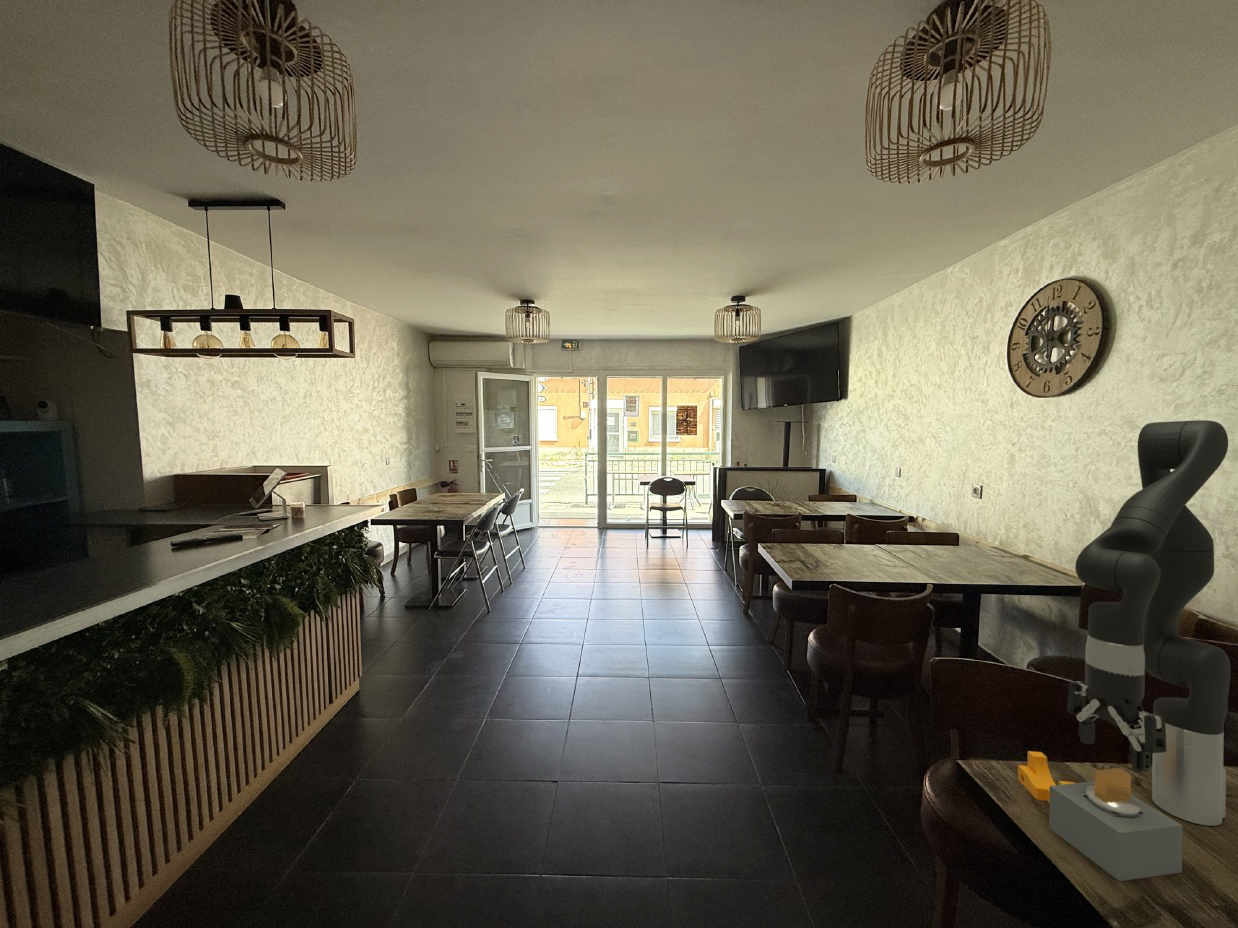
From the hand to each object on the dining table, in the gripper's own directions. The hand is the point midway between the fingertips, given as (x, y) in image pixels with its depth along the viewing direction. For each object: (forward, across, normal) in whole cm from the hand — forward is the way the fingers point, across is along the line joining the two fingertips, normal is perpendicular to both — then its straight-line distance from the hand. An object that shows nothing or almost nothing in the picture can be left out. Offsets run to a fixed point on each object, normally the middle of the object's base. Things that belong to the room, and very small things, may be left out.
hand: (1112, 756), depth 91 cm
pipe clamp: (+17, +13, -2) cm, 22 cm away
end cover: (+12, 0, 0) cm, 12 cm away
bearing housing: (+17, 0, 0) cm, 17 cm away
